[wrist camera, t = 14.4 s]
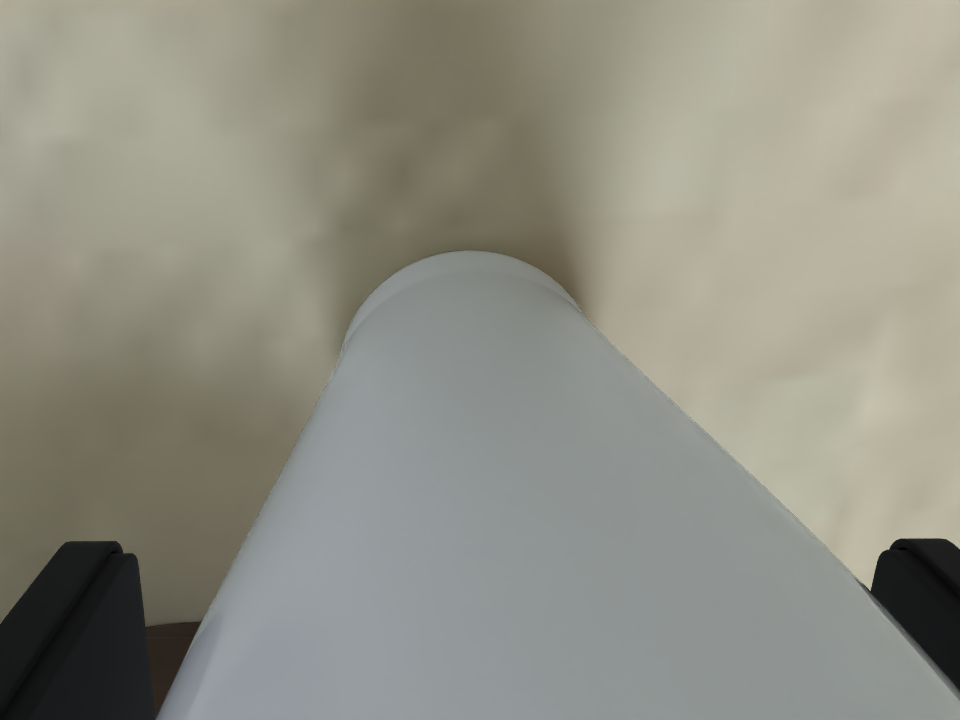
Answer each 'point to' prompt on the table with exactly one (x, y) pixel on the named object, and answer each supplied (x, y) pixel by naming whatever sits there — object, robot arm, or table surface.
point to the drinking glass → (529, 543)
